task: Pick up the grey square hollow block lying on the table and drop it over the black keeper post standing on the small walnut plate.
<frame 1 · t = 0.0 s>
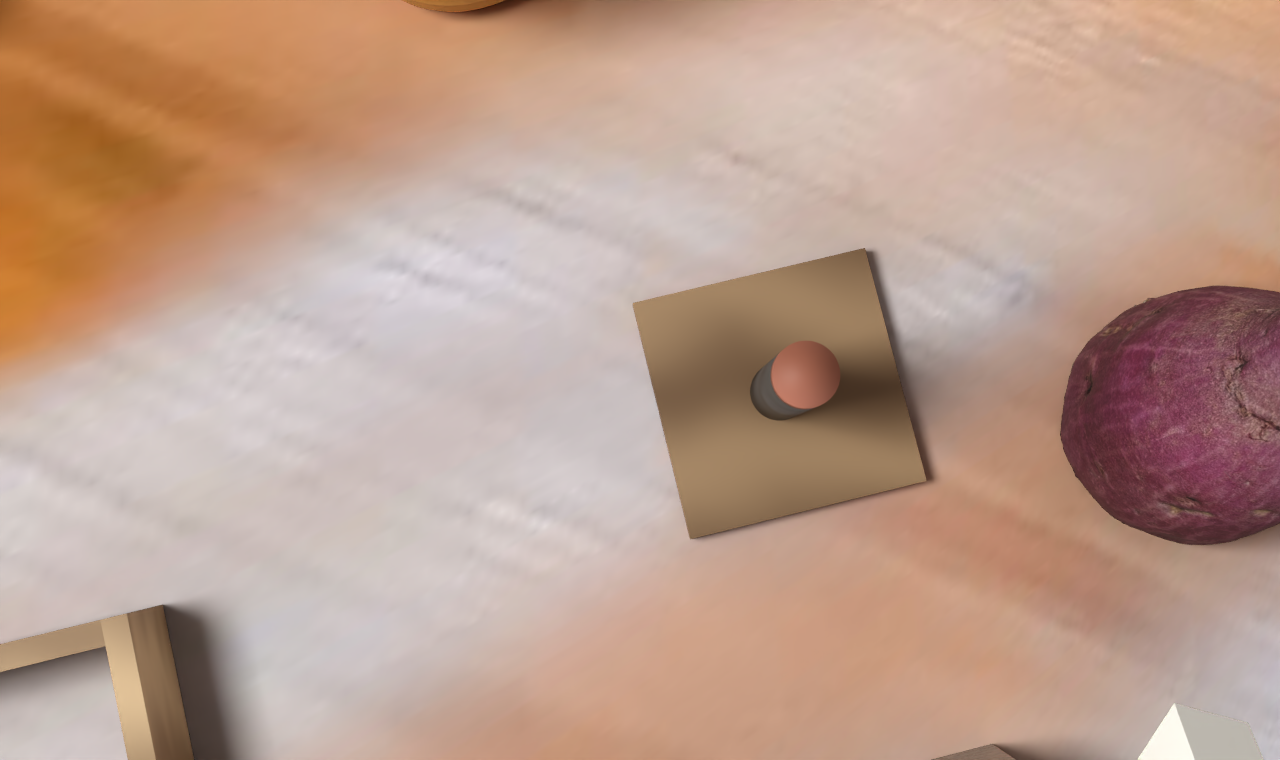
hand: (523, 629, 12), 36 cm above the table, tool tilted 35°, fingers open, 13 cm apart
keeper: (777, 392, 49), on the table
vegetable: (1175, 420, 49), on the table
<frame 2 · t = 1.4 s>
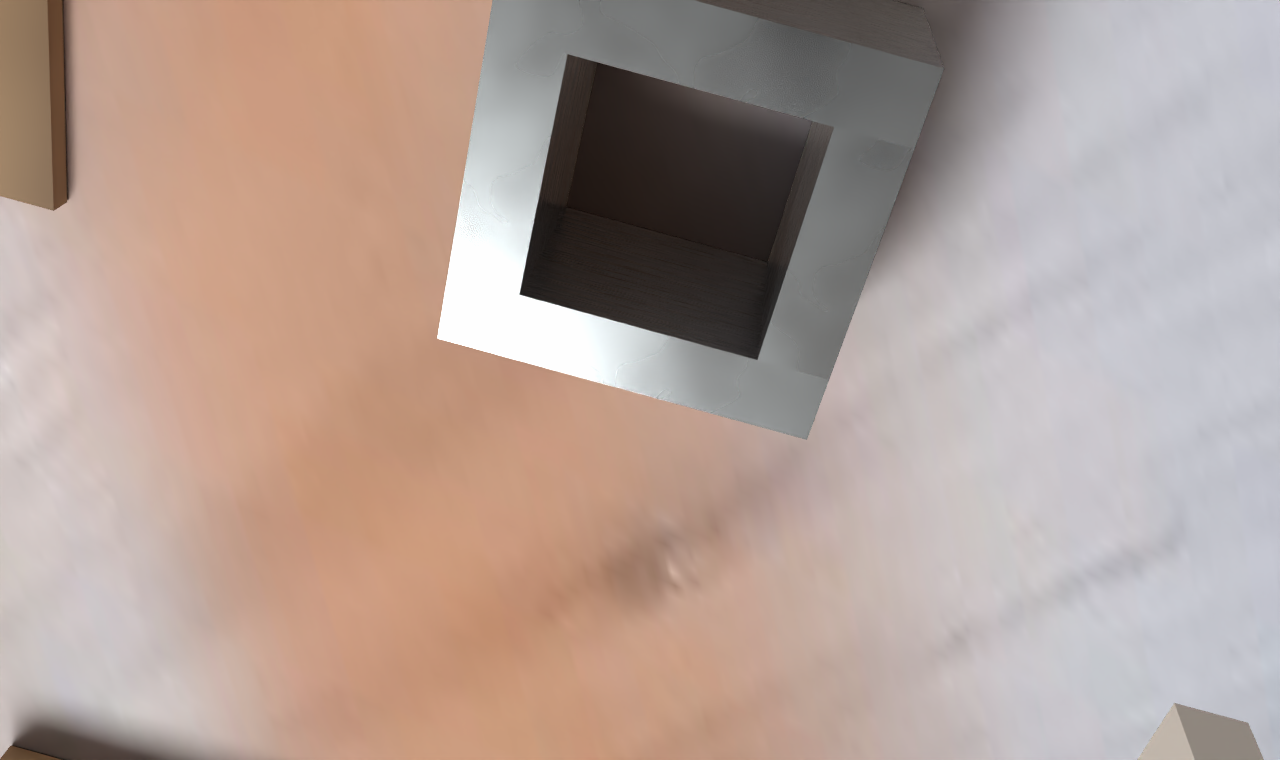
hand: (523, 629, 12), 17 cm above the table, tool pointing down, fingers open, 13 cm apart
grey square hollow block: (693, 136, 27), on the table
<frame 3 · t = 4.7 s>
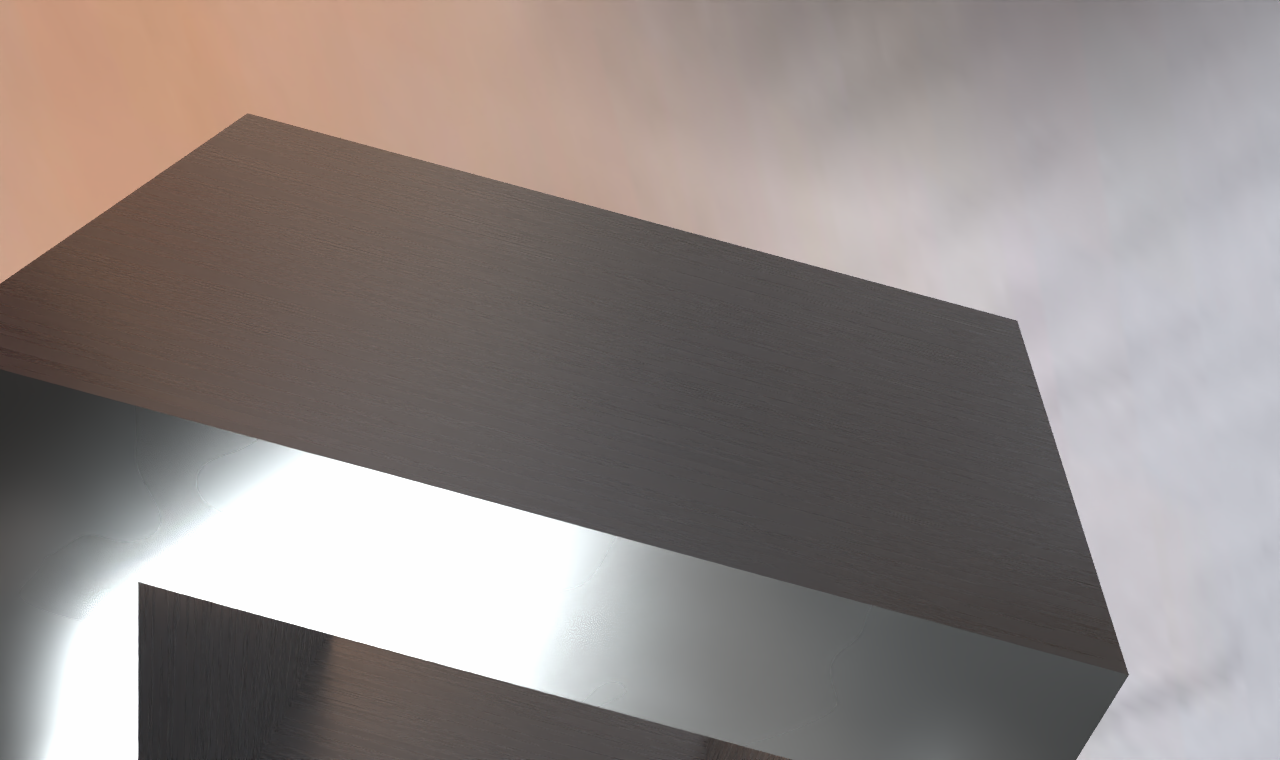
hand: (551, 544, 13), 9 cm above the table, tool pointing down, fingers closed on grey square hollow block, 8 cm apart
grey square hollow block: (557, 523, 14), point 9 cm above the table, touching gripper
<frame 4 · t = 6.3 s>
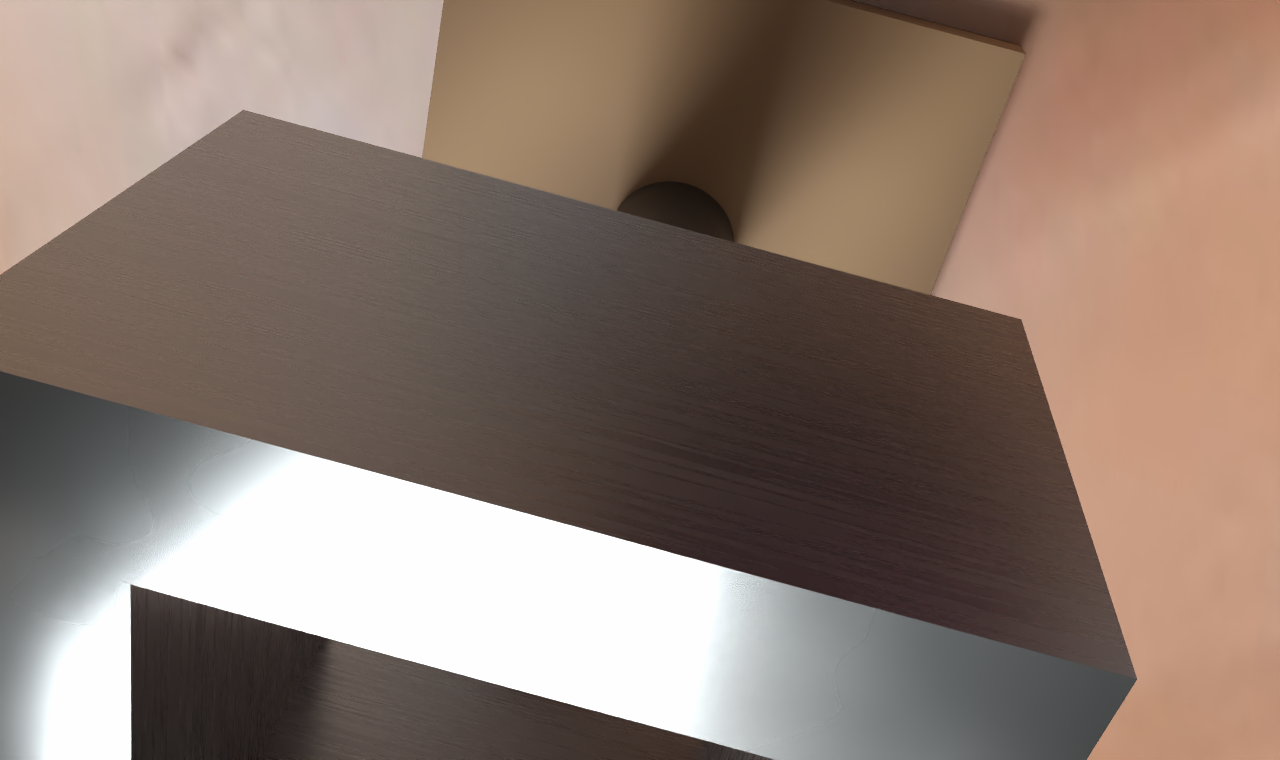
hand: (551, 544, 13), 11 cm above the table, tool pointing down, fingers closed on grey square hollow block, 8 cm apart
grey square hollow block: (556, 523, 14), point 10 cm above the table, touching gripper
keeper: (675, 229, 23), on the table
when the fingers open (1 cm above the table, at t = 8.4 s): grey square hollow block stays where it is, resting on keeper.
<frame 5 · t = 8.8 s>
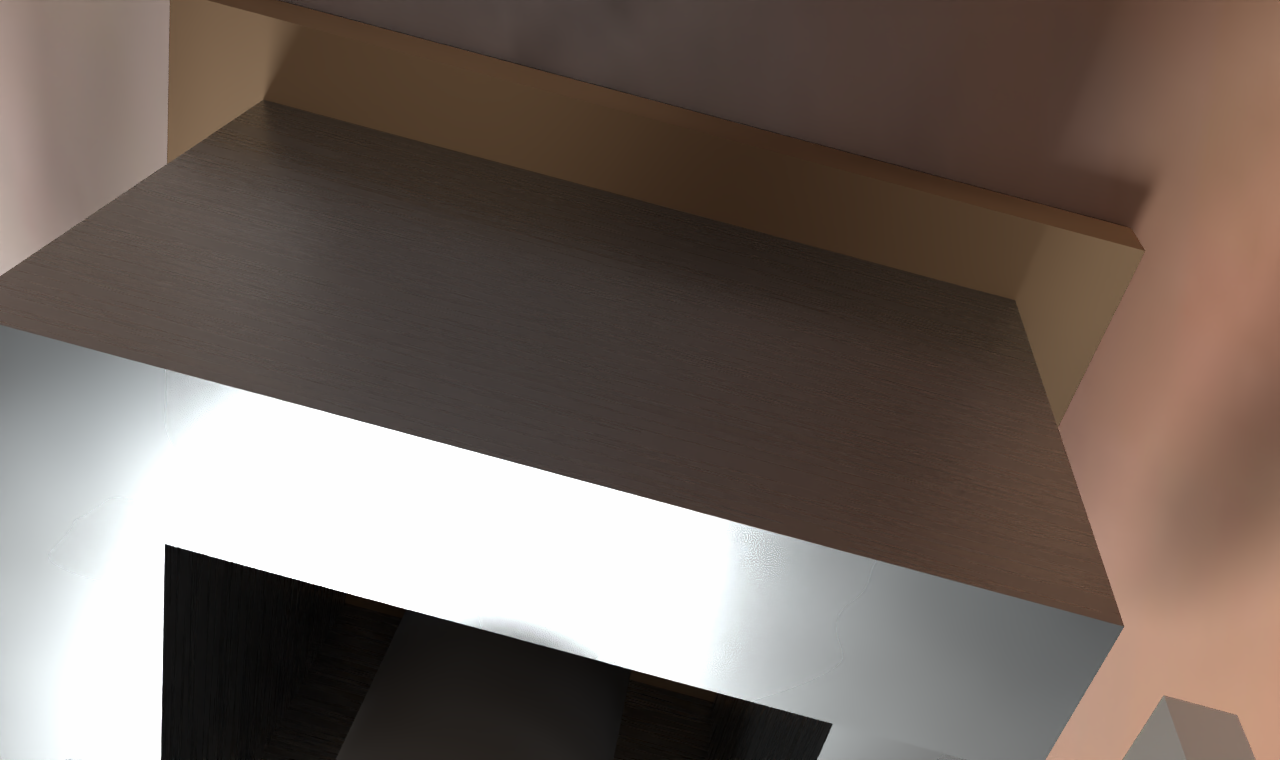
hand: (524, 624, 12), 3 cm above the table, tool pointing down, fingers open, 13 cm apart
grey square hollow block: (565, 503, 14), point 1 cm above the table, touching keeper
keeper: (571, 484, 15), on the table
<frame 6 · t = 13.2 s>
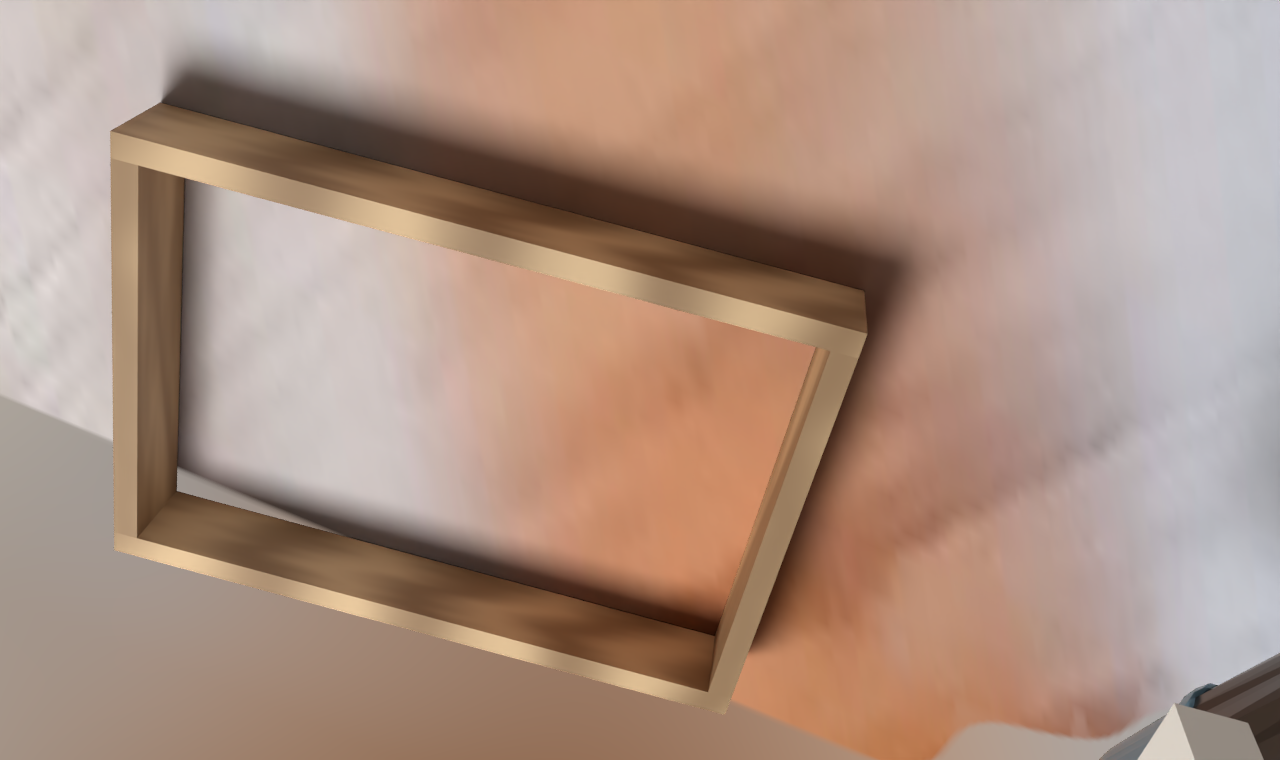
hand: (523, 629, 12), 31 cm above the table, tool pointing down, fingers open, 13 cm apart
tray rim a: (473, 407, 48), on the table
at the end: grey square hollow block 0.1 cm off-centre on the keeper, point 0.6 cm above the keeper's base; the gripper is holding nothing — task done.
